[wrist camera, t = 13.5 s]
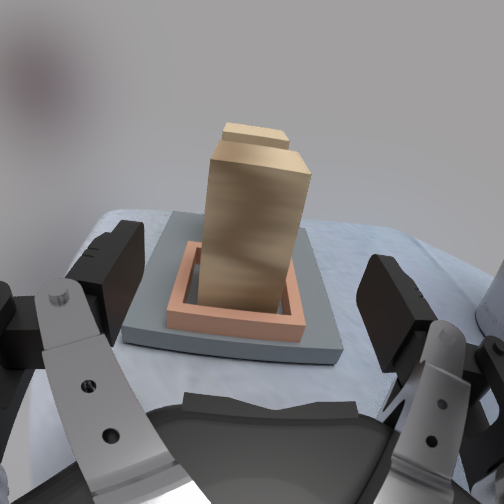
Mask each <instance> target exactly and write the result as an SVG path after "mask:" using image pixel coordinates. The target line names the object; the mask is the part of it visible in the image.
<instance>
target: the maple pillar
mask: <svg viewBox="0 0 504 504" xmlns="http://www.w3.org/2000/svg"><path fill="white" fill-rule="evenodd" d="M310 179H311V173H310V171H309V169H308V168H307V166H306V164H305V163H304V161H303V160H302V158H301V156H300V155H299V153H298V152H295V151H289V150H284V149H278V148H272V147H266V146H259V145H253V144H246V143H239V142H231V141H223V140H220V141H219V143H218V145H217V147H216V149H215V151H214V153H213V155H212V157H211V160H210V168H209V178H208V186H207V195H206V205H205V215H204V225H203V236H202V248H201V260H200V272H199V286H198V301H197V305H200V306H208V307H216V308H224V309H233V310H241V311H251V312H260V313H270V314H277V310H278V307H279V303H280V299H281V296H282V292H283V288H284V284H285V281H286V277H287V273H288V269H289V265H290V261H291V257H292V253H293V249H294V246H295V242H296V238H297V233H298V229H299V225H300V221H301V217H302V213H303V209H304V204H305V200H306V196H307V192H308V188H309V183H310Z"/></svg>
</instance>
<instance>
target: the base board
mask: <svg viewBox="0 0 504 504" xmlns="http://www.w3.org/2000/svg"><path fill="white" fill-rule="evenodd" d="M222 140H223V141H231V142H239V143H246V144H253V145H259V146H266V147H272V148H278V149H284V150H288V147H289V142H290V141H289V139H288V138H287V136H286V135H285V133H284V132H283V131H281V130H275V129H269V128H263V127H256V126H250V125H242V124H235V123H227V124H226V126H225V128H224V130H223V134H222ZM203 225H204V215H203V214H195V213H186V212H178V211H173V212H172V214H171V216H170V218H169V220H168V222H167V224H166V226H165V228H164V230H163V232H162V234H161V236H160V238H159V240H158V243H157V245H156V247H155V249H154V251H153V253H152V255H151V257H150V259H149V261H148V264H147V266H146V268H145V270H144V274H143V278H142V280H141V283H140V285H139V287H138V289H137V292H136V294H135V296H134V298H133V301H132V303H131V305H130V308H129V310H128V312H127V315H126V317H125V319H124V322H123V324H122V327H121V332H122V337H123V342H128V343H133V344H139V345H145V346H150V347H156V348H163V349H169V350H176V351H183V352H190V353H197V354H205V355H214V356H222V357H232V358H242V359H253V360H265V361H279V362H295V363H317V364H336V363H337V361H338V360H339V358H340V356H341V354H342V352H343V350H344V349H343V345H342V342H341V338H340V335H339V332H338V328H337V325H336V322H335V318H334V315H333V312H332V309H331V305H330V302H329V299H328V296H327V293H326V290H325V286H324V283H323V280H322V277H321V274H320V271H319V268H318V265H317V262H316V259H315V256H314V253H313V250H312V247H311V244H310V241H309V238H308V235H307V232H306V230H305V228H299V229H298V233H297V238H296V242H295V246H294V249H293V253H292V257H291V261H290V265H289V269H288V273H287V277H286V281H285V284H284V288H283V292H282V296H281V299H280V303H279V307H278V310H277V314H270V313H260V312H251V311H241V310H233V309H224V308H216V307H208V306H200V305H197V301H198V286H199V272H200V260H201V248H202V236H203Z"/></svg>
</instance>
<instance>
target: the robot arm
mask: <svg viewBox="0 0 504 504" xmlns="http://www.w3.org/2000/svg"><path fill="white" fill-rule="evenodd" d="M144 267H145V250H144V224H143V223H142V222H136V221H128V220H121V221H120V222H119V223H118V225H117V226H116V227H115V229H114V230H113V231H112V232H111V233H108V232H105V233H103V234H102V235H100V236H98V237H97V238H95V239H94V240H93V241H92V242H91V244H90V245H89V246H88V249H86V250H85V251H84V253H83V254H82V256H80V258H79V259H78V260H77V262H76V263H75V264H74V266H73V267H72V268H71V270H70V271H69V272H68V274H67V275H66V276H65V278H60V279H54V280H51V281H49V282H47V283H45V284H43V285H42V286H41V287H40V288H39V289H38V290H37V292H36V294H35V296H20V297H19V296H18V297H13V295H12V292H11V289H10V287H9V285H8V284H7V283H5V282H2V281H0V504H9V501H8V495H9V488H8V480H7V476H6V472H5V470H4V468H3V466H2V465H1V462H2V458H3V455H4V452H5V448H6V445H7V442H8V439H9V436H10V433H11V430H12V427H13V424H14V421H15V419H16V416H17V413H18V411H19V408H20V405H21V403H22V400H23V398H24V395H25V393H26V390H27V388H28V385H29V383H30V380H31V378H32V376H33V373H34V371H35V369H46V373H47V376H48V380H49V384H50V387H51V390H52V394H53V397H54V400H55V404H56V407H57V410H58V413H59V416H60V419H61V421H62V424H63V427H64V430H65V432H66V435H67V438H68V440H69V443H70V445H71V448H72V450H73V453H74V455H75V458H76V460H77V461H75V462H74V463H72V464H71V465H69V466H68V467H66V468H65V469H63V470H62V471H61V472H59V473H58V474H56V475H55V476H53V477H52V478H50V479H48V480H47V481H45V482H44V483H42V484H41V485H39V486H38V487H36V488H34V489H33V490H31V491H30V492H28V493H27V494H25V495H24V496H22V497H20V498H18V499H17V500H15V501H14V502H12V503H11V504H504V260H503V263H502V264H501V266H500V268H499V271H498V272H497V275H496V277H495V278H494V280H493V282H492V284H491V285H490V287H489V289H488V291H487V293H486V295H485V296H484V298H483V300H482V302H481V303H480V305H479V307H478V309H477V310H476V319H477V322H478V324H479V326H480V328H481V330H482V332H483V333H484V334H485V336H486V337H485V338H484V340H483V341H482V343H481V344H480V345H479V346H476V345H472V344H469V343H466V339H465V337H464V335H463V334H462V332H461V331H460V330H459V329H458V328H457V327H456V326H454V325H453V324H451V323H449V322H446V321H443V320H438V319H437V317H436V315H435V314H434V312H433V311H432V309H431V307H430V306H429V304H428V303H427V301H426V299H425V298H423V297H424V296H423V295H422V293H421V292H420V291H419V289H418V287H417V285H416V284H415V282H414V281H413V280H412V279H411V278H410V277H409V276H408V275H407V274H406V273H404V272H403V270H402V269H401V267H400V266H399V264H398V263H397V261H396V260H395V259H394V257H391V256H385V255H378V254H373V255H372V256H371V258H370V259H369V262H368V264H367V267H366V270H365V272H364V275H363V277H362V280H361V282H360V285H359V287H358V290H357V295H356V303H357V307H358V309H359V312H360V314H361V317H362V319H363V322H364V324H365V327H366V329H367V332H368V335H369V337H370V340H371V342H372V345H373V348H374V351H375V353H376V356H377V359H378V361H379V364H380V367H381V370H382V373H393V372H396V373H397V377H396V378H395V379H394V381H393V383H392V385H391V387H390V389H389V392H388V394H387V396H386V398H385V400H384V402H383V405H382V407H381V409H380V411H379V413H378V415H377V417H376V419H374V418H372V417H369V416H366V415H363V414H358V410H357V406H356V402H355V401H350V402H315V403H310V404H306V405H301V406H296V407H292V408H287V409H281V410H271V409H267V408H263V407H259V406H256V405H252V404H249V403H245V402H242V401H239V400H235V399H232V398H229V397H220V396H211V395H202V394H195V393H187V392H184V397H183V404H179V405H171V406H166V407H162V408H158V409H155V410H152V411H149V412H147V413H145V412H144V410H143V408H142V407H141V405H140V403H139V401H138V400H137V398H136V396H135V394H134V392H133V391H132V389H131V387H130V385H129V383H128V381H127V379H126V377H125V375H124V373H123V371H122V369H121V367H120V365H119V363H118V361H117V359H116V357H115V355H114V353H113V351H112V349H111V347H113V346H114V344H115V341H116V339H117V336H118V334H119V332H120V329H121V327H122V324H123V322H124V319H125V317H126V315H127V312H128V310H129V308H130V305H131V303H132V301H133V298H134V296H135V294H136V292H137V289H138V287H139V285H140V283H141V280H142V278H143V274H144ZM490 388H491V389H492V392H493V394H494V396H495V398H496V400H497V403H498V405H499V410H500V411H499V416H498V418H497V420H496V421H495V422H494V423H493V424H492V425H491V426H490V425H489V423H488V420H487V418H486V415H485V413H484V410H483V408H482V405H481V403H480V399H481V398H482V397H483V396H484V395H485V394H486V393H487V391H488V390H489V389H490ZM458 453H460V457H461V460H462V464H463V467H464V471H465V475H466V479H467V482H468V486H469V491H470V494H469V493H468V492H466V491H465V490H464V489H463V488H462V487H460V486H459V485H458V484H457V483H455V482H454V481H453V480H452V476H453V472H454V469H455V465H456V461H457V457H458Z"/></svg>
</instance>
